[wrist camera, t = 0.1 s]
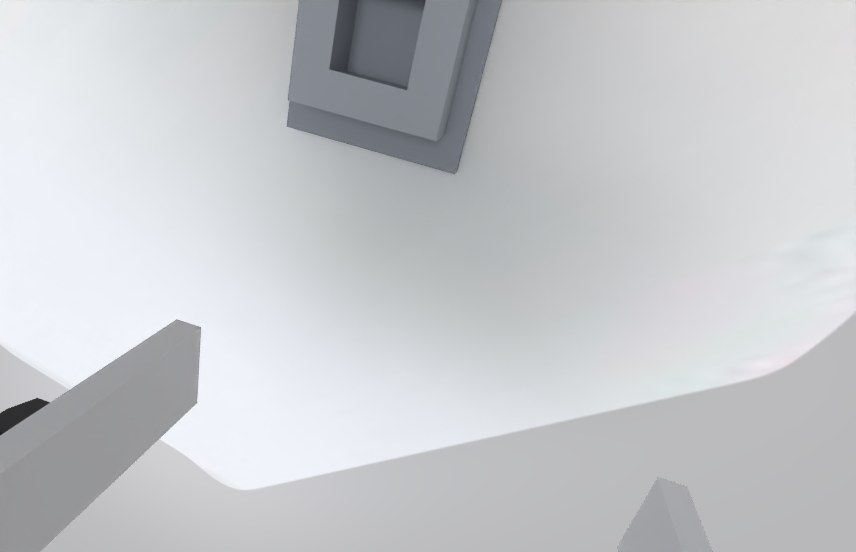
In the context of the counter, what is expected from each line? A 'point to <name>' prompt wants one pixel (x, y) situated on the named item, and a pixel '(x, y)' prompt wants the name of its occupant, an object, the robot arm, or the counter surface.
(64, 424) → the robot arm
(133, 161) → the counter surface
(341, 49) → the socket
